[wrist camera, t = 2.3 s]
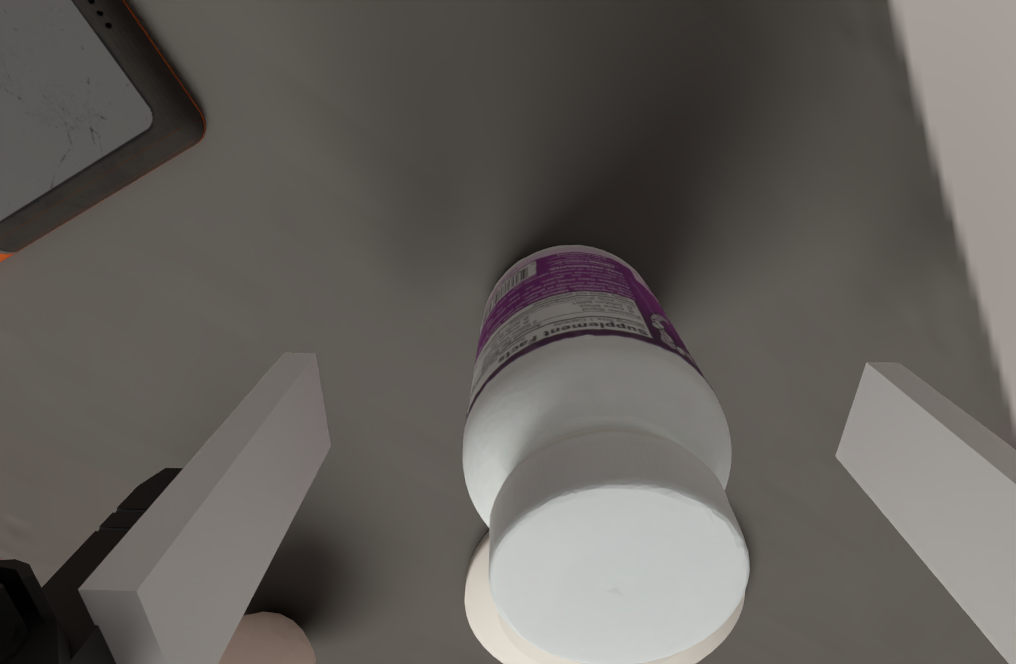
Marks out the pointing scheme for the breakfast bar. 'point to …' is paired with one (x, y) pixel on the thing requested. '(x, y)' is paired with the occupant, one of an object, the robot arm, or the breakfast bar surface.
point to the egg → (268, 641)
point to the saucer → (521, 655)
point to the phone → (80, 111)
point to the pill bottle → (599, 466)
